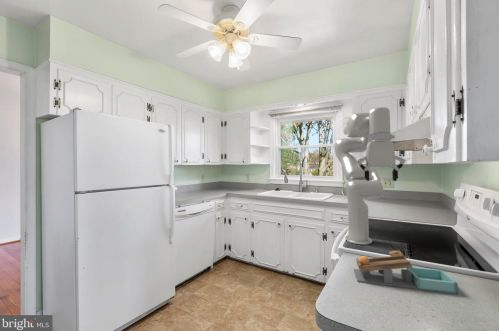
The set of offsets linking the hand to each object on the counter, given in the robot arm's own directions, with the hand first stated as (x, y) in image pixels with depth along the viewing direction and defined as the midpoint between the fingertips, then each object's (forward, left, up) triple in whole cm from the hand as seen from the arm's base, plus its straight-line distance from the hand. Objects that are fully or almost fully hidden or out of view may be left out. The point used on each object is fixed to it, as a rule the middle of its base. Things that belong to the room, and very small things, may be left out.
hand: (380, 180), depth 94 cm
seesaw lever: (+12, -3, -29) cm, 32 cm away
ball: (+16, -9, -27) cm, 33 cm away
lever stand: (+16, -3, -33) cm, 37 cm away
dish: (+16, +10, -33) cm, 38 cm away
